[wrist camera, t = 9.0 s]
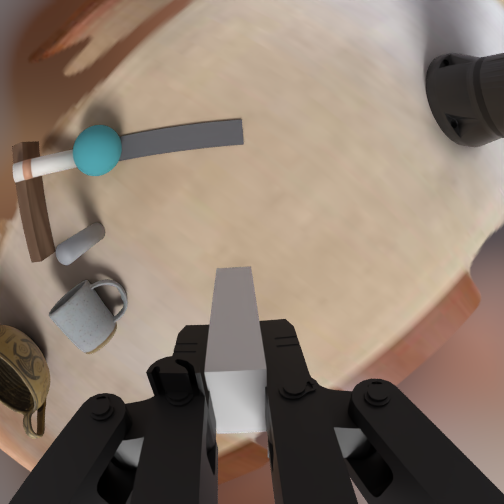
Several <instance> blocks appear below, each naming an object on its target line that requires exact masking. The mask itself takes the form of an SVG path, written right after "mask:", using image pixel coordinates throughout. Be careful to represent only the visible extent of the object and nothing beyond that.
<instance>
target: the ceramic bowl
mask: <svg viewBox="0 0 504 504" xmlns="http://www.w3.org/2000/svg"><path fill="white" fill-rule="evenodd" d="M49 387H50V373H49V368H48V365H47V363H46V360H45V358H44V356H43V354H42V352H41V351H40V349H39V348H38V346H37V345H36V344H35V343H34V342H33V341H32V340H31V339H30V338H29V337H28V336H27V335H26V334H24V333H23V332H22V331H20V330H18V329H16V328H14V327H11V326H7V325H0V402H1V403H2V404H3V405H5V406H6V407H8V408H9V409H11V410H13V411H15V412H17V413H19V414H23V415H24V418H23V427H24V430H25V432H26V434H27V435H28V436H29V437H30V438H33V439H35V438H40V437H42V436H43V434H44V430H45V407H46V397H47V394H48V391H49ZM37 409H38V411H37V434H36V433H35V432H34V431H33V429H32V426H31V416H32V414H33V413H34V412H35V411H36V410H37Z"/></svg>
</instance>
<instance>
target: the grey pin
mask: <svg viewBox="0 0 504 504" xmlns="http://www.w3.org/2000/svg"><path fill="white" fill-rule="evenodd" d="M104 236H105V229H104V227H103V225H102V224H100V223H93V224H92V225H90V226H88V227H87V228H85V229H83V230H82V231H80V232H78V233H77V234H75V235H74V236H72V237H70V238H69V239H67V240H66V241H64V242H62V243H61V244H59V245H58V246H57V248H56V257H57V259H58V261H59V262H60V263H61V264H63V265H69V264H71V263H72V262H73V261H74V260H76V259H77V258H78V257H79V256H81V255H82V254H83V253H84V252H86V251H87V250H88V249H90V248H91V247H92V246H94V245H95V244H96V243H97V242H99V241H100V240H101V239H103V238H104Z"/></svg>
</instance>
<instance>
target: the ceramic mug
mask: <svg viewBox="0 0 504 504" xmlns="http://www.w3.org/2000/svg"><path fill="white" fill-rule="evenodd" d="M101 285H111V286H115V287H117V289H118V290H119V292H120V294H121V299H122V300H123V304H124V306H123V308H122V309H121V311H120V312H119V313H118V314H117V315H116V316H113V315H112V314H111V312H110V311H109V310H108V308H107V307H106V306H105V305H104V303H103V302H102V300H101V299H100V297H99V296H98V294H97V293H96V291H95V290H94V288H95V287H98V286H101ZM127 304H128V302H127V295H126V292H125V290H124V289H123V287H122V286H121V285H120V284H119V283H117V282H116V281H114V280H109V279H105V280H100V281H97V282H95V283H93V284H90V283H89V281H87V280H85V281H82V282H81V283H79V284H78V285H76V286H75V287H74V288H72V289H71V290H70V291H69V292H68V293H66V294H65V295H64V296H63V297H62V298H61V299H60V300H59V301H58V302H57V303H56V304H55V306H54V307H53V308H52V309H51V311H50V312H49V317H50V318H51V319H52V320H53V322H54V323H55V324H56V325H57V326H58V327H59V328H60V329H61V330H62V332H63V333H64V334H65V335H66V336H67V337H68V338H69V339H70V340H71V341H72V342H73V343H74V344H75V345H76V346H77V347H78V348H79V349H80V350H81V351H83V352H84V353H86V354H92V353H95V352H97V351H98V350H100V349H101V348H103V347H104V346H105V345H106V344H107V343H108V342H109V341H110V340H111V338H112V337H113V336H114V334H115V332H116V329H117V323H116V321H117V320H119V319H120V318H121V317H122V316H123V315H124V313H125V311H126V309H127Z"/></svg>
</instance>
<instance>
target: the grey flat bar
mask: <svg viewBox="0 0 504 504" xmlns="http://www.w3.org/2000/svg"><path fill="white" fill-rule="evenodd" d="M120 140H121V144H122V152H121V156H120V159H119V161H122V160H127V159H132V158H138V157H144V156H150V155H156V154H162V153H169V152H176V151H184V150H191V149H200V148H209V147H219V146H229V145H242V144H244V142H243V129H242V120H229V121H218V122H208V123H199V124H191V125H184V126H177V127H170V128H164V129H158V130H152V131H146V132H141V133H136V134H131V135H126V136H121V137H120Z"/></svg>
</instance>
